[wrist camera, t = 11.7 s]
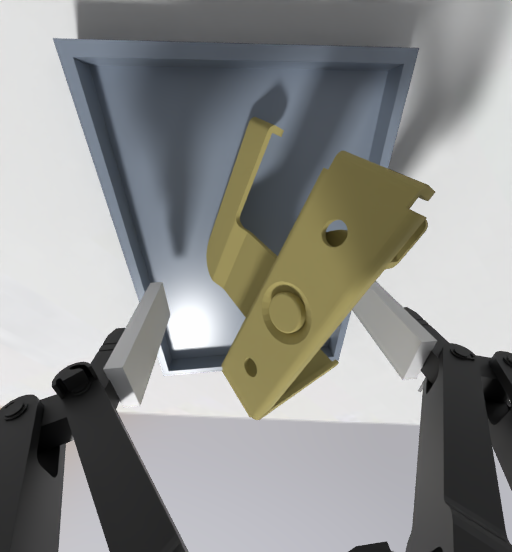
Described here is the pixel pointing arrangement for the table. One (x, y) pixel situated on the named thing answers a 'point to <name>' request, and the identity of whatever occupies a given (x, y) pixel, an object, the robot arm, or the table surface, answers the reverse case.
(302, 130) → the tray
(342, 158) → the bracket
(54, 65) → the table surface
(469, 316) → the table surface
